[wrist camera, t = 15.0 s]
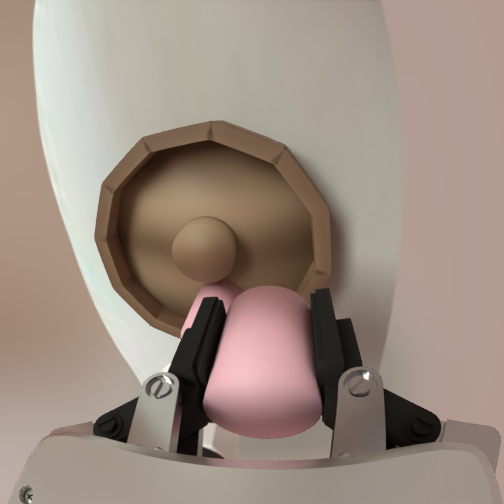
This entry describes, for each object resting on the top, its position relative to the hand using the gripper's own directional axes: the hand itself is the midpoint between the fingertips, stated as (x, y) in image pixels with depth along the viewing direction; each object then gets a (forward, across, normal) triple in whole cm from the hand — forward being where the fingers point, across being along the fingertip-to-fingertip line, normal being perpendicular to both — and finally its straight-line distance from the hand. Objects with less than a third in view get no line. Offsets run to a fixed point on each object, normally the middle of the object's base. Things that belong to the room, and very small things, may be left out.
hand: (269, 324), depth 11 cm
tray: (+9, +4, 0) cm, 10 cm away
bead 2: (0, 0, 0) cm, 0 cm away
